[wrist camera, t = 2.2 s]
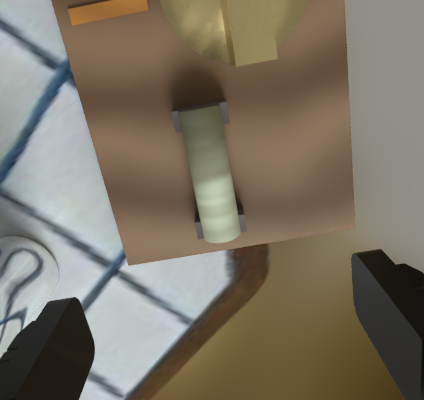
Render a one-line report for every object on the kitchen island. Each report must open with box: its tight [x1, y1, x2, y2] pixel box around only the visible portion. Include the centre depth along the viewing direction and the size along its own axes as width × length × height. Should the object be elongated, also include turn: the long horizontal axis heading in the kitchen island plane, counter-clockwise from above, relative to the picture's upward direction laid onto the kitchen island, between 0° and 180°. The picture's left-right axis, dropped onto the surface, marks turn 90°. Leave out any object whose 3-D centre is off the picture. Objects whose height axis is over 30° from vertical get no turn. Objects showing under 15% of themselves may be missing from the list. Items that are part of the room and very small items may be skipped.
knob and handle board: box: [52, 0, 355, 265], centre depth 22 cm, size 22×16×5 cm
